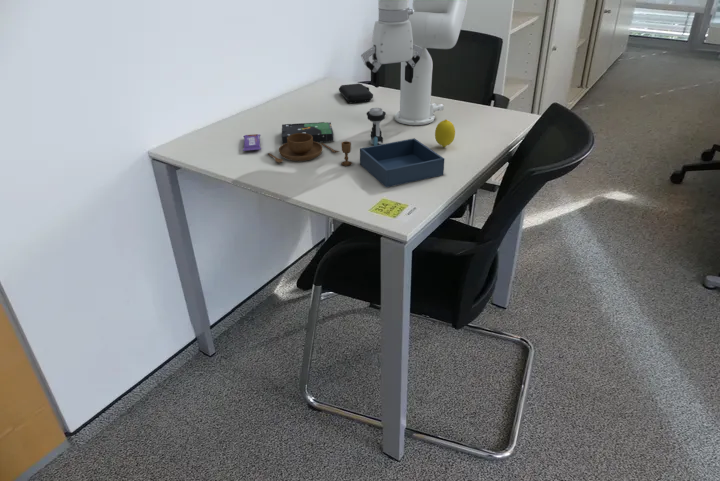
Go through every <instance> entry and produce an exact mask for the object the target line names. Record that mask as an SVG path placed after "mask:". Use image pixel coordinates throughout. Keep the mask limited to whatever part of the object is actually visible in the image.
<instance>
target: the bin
mask: <svg viewBox="0 0 720 481" xmlns="http://www.w3.org/2000/svg"><path fill="white" fill-rule="evenodd" d="M359 165H360V166H361V167H362V168H363V169H364V170H366V171H367V172H368V173H369V174H370V175H371V176H372V177H374V178H375V179H376V181H378V182H379V183H380V184H382V185H383V186H384V188H390V187H395V186H400V185H404V184H409V183H413V182H417V181H423V180H428V179H431V178H436V177H440V176H441V177H442V176H444V172H445V171H444V169H445V157H443V156H442V155H440V154H439V153H438V152H435V151H434V150H432V149H431V148H430V147H428V146H427V145H426V144H424V143H422V142H421V141H419V140H418V139H416V138H415V137H413V138H408V139H404V140H397V141H392V142H386V143H382V144H381V145H376V146H374V145H372V146H366V147H361V148H359Z"/></svg>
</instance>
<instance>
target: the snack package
mask: <svg viewBox="0 0 720 481" xmlns="http://www.w3.org/2000/svg"><path fill="white" fill-rule="evenodd" d="M242 137H243V149H242V152H244V151H246V152H247V151H248V152H249V151H258V150H262V148H261V141H260V140H261V139H260V138H261V134H259V133H257V134H256V133H254V134H245V135H243V136H242Z"/></svg>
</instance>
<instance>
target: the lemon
mask: <svg viewBox="0 0 720 481" xmlns="http://www.w3.org/2000/svg"><path fill="white" fill-rule="evenodd" d="M434 138H435V141H436V143H437V144H438V145H440V146H441V147H442V148H446V147H447V146H450V145H451V144H452V143H453V142H454V140H455V138H456V128H455V125H454V123H453V122H451V120H448V119H444V120H442V121H440V122H438V124H437V125H436V127H435V130H434Z"/></svg>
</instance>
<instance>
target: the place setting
mask: <svg viewBox="0 0 720 481" xmlns="http://www.w3.org/2000/svg"><path fill="white" fill-rule="evenodd" d="M340 144H341V146H340V147H341V151H339V150H335V149H333V148H332V147H330V146H329V145H327V144H325V143H324V142H320V143H317V142H314V141H313V137H312V135H310V134H307V133H296V134H292V135H290V136H288V137H287V143H285V144H281V145H280V146H279V147H278V153H279V155H280V156H281V157H282V158H283V159H282V158H279V157H276V156H274V155H273V154H272V153H267V155H269V157H272V158H273V159H274V161H275V162H276V163H283V161H284V159H285V160H288V161H292V162H307V161H311V160H314V159H316V158H318V157H320V155H321V154H322V153H323V149H324V148H323V146H324V147H326V148H327V149H329V150H331V153H336V154H337V153H340V152H342V153H343V154H344V161H341V166H343V167H349V166H352V165H353V163H352V161H349V153H351V150H352V143H351V141H347V140H345V141H344V140H343V141H342V142H341V143H340Z"/></svg>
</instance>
